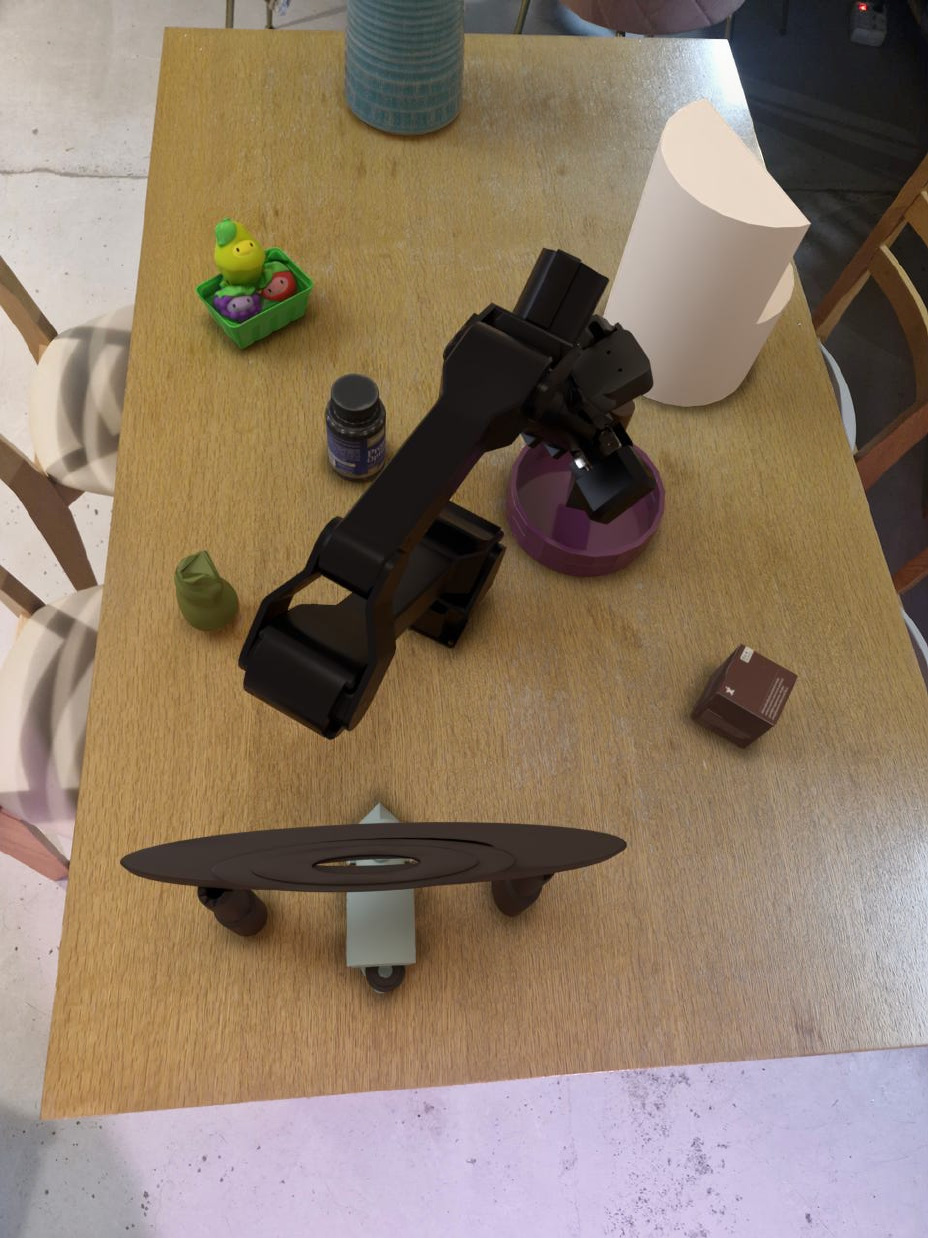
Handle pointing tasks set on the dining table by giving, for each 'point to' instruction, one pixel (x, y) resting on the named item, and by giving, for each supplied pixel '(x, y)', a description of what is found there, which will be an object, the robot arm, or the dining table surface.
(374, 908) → the round plant dolly
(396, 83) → the vase
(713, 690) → the box
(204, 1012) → the dining table surface
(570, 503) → the hammer
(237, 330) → the fruit basket
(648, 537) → the bowl
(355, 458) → the pill bottle
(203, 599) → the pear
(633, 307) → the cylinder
